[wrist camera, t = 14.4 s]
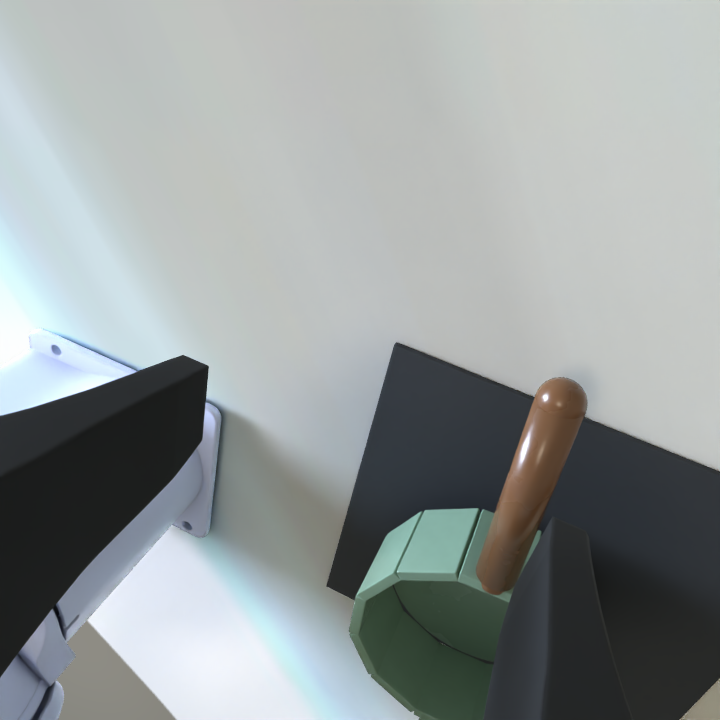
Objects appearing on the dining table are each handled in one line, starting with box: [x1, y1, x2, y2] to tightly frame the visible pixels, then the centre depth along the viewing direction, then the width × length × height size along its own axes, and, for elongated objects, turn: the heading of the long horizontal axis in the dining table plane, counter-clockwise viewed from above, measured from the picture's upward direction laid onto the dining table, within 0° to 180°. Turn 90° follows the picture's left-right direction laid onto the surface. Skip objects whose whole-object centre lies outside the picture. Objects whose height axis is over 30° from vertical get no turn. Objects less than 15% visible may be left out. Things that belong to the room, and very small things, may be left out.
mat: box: [327, 342, 720, 720], centre depth 25 cm, size 15×14×1 cm
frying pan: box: [349, 377, 587, 720], centre depth 23 cm, size 17×8×4 cm, turn 171°
